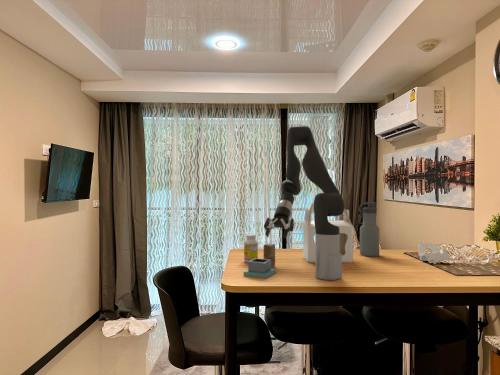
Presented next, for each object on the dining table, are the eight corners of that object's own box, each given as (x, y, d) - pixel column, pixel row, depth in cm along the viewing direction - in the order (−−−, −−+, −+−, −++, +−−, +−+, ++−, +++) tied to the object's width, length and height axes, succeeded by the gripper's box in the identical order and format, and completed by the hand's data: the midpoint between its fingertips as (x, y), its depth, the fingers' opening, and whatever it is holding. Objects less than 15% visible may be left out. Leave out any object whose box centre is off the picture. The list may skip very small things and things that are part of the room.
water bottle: (355, 254, 178) (355, 202, 178) (364, 252, 185) (364, 201, 185) (373, 257, 171) (373, 202, 171) (382, 255, 177) (382, 202, 178)
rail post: (275, 266, 151) (275, 244, 151) (271, 268, 147) (271, 245, 147) (266, 265, 152) (266, 243, 153) (263, 267, 149) (263, 244, 149)
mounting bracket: (447, 266, 160) (442, 244, 164) (454, 263, 154) (448, 240, 158) (421, 266, 160) (417, 244, 165) (427, 263, 155) (423, 240, 159)
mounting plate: (275, 272, 139) (275, 268, 139) (266, 278, 130) (266, 274, 130) (253, 270, 143) (253, 266, 143) (243, 275, 134) (243, 271, 134)
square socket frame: (271, 269, 138) (271, 259, 138) (264, 273, 132) (264, 263, 132) (255, 267, 141) (255, 258, 141) (248, 271, 135) (248, 261, 135)
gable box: (307, 262, 159) (307, 203, 159) (302, 257, 172) (302, 202, 172) (353, 262, 159) (353, 203, 160) (345, 256, 172) (345, 202, 173)
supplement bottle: (242, 260, 163) (242, 234, 163) (255, 259, 165) (255, 233, 165) (246, 263, 157) (246, 235, 157) (259, 262, 159) (259, 235, 159)
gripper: (268, 205, 168) (259, 230, 157) (295, 206, 162) (288, 232, 151) (272, 215, 173) (263, 240, 162) (298, 216, 167) (291, 242, 156)
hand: (275, 236), depth 157 cm, fingers open, 8 cm apart
